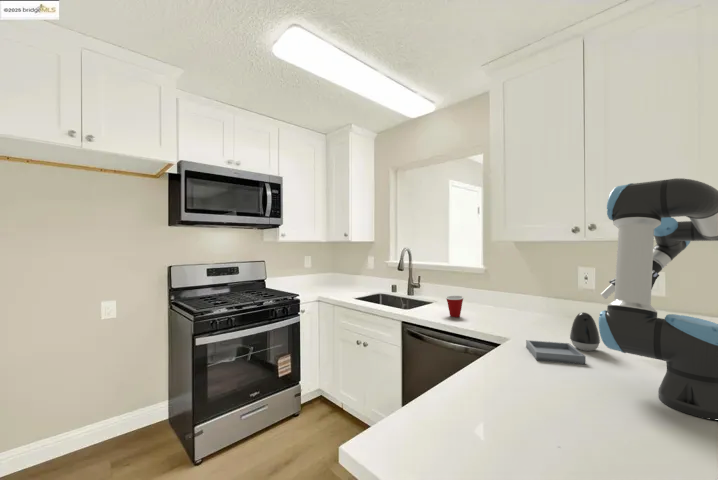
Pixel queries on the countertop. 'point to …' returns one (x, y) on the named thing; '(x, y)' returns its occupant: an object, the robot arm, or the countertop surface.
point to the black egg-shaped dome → (584, 332)
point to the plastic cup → (454, 305)
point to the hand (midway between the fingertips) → (614, 299)
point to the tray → (555, 352)
